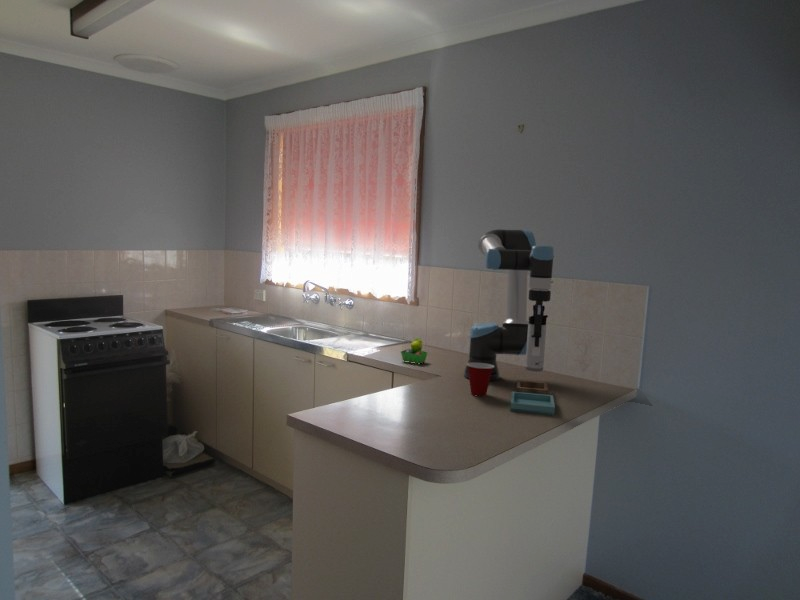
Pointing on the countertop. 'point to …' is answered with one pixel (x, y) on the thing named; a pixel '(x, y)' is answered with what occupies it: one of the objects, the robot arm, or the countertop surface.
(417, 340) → the fruit basket
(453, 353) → the countertop surface
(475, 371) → the plastic cup
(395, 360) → the countertop surface
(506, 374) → the countertop surface
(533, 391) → the open wooden box
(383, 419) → the countertop surface
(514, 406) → the tray
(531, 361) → the travel mug
